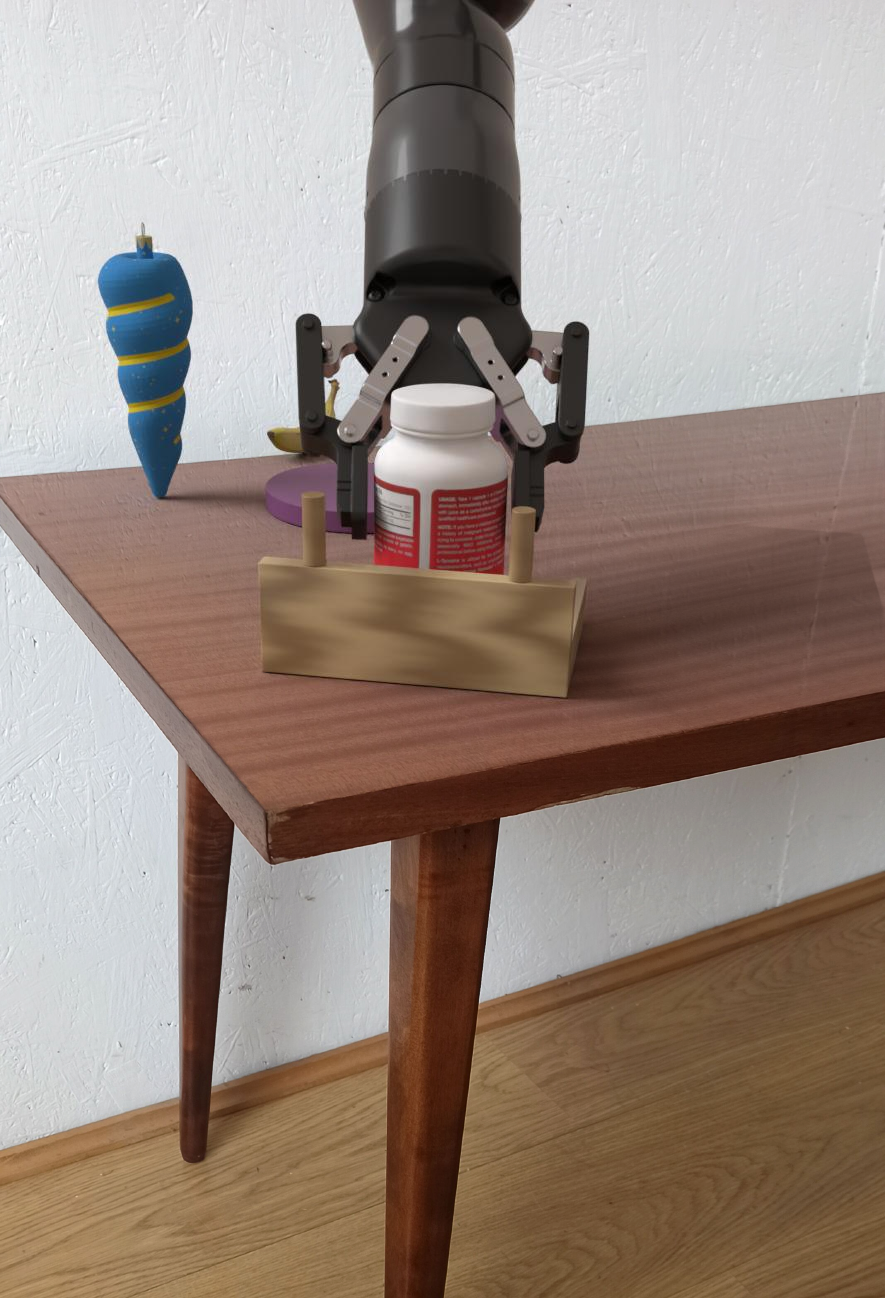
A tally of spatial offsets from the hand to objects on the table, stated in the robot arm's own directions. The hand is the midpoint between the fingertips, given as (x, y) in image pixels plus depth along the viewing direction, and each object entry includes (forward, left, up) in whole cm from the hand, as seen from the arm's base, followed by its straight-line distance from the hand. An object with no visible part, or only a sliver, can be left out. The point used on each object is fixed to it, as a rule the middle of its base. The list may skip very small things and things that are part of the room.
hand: (440, 533), depth 70 cm
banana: (+14, -34, -5) cm, 37 cm away
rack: (0, 0, -5) cm, 5 cm away
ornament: (+20, -21, -5) cm, 29 cm away
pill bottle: (0, -2, -5) cm, 6 cm away
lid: (+8, -22, -5) cm, 24 cm away
